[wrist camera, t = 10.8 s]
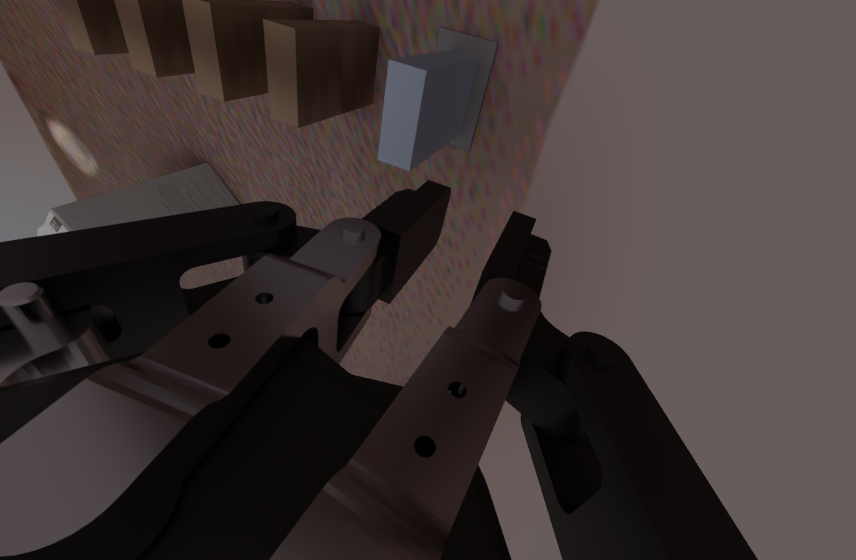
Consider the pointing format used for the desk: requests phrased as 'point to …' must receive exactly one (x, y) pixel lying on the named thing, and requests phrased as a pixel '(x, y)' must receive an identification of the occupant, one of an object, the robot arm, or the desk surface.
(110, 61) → the desk surface
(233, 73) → the tile
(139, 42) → the tile
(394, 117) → the blue-grey rectangular block
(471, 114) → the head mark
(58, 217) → the skincare box
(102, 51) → the tile
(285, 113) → the tile
